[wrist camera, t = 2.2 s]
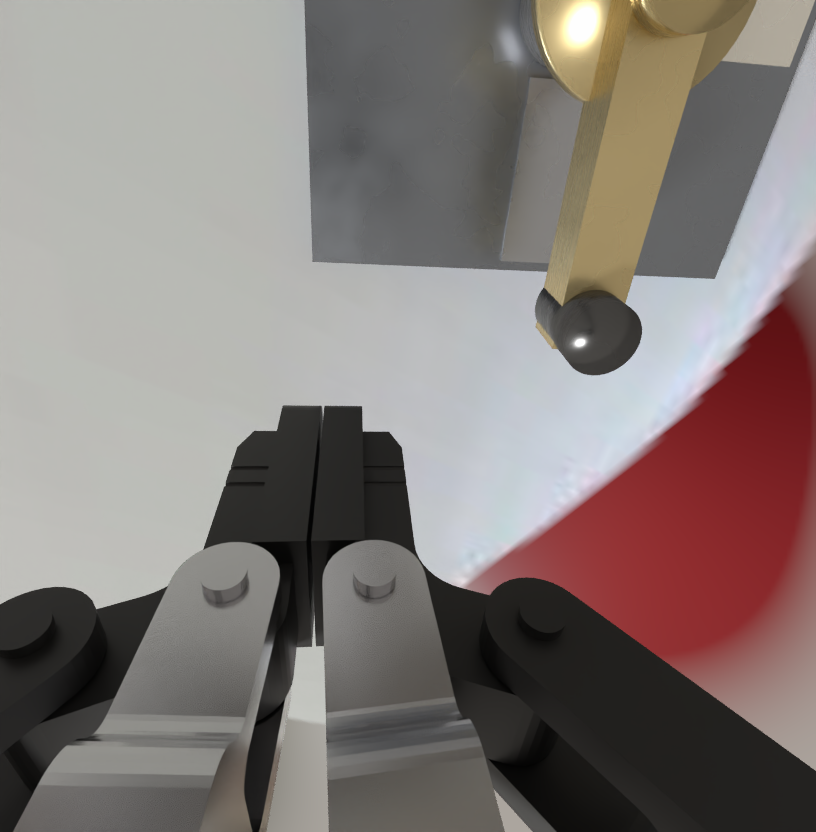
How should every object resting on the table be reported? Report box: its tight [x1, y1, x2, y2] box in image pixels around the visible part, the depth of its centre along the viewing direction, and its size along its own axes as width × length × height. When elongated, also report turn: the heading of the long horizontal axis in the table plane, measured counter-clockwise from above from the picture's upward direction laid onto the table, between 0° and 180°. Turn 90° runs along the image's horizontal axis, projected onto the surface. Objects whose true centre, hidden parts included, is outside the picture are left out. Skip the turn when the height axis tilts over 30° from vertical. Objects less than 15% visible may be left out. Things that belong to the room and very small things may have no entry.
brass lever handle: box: [531, 0, 757, 375], centre depth 17 cm, size 15×7×4 cm, turn 176°
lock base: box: [305, 0, 816, 279], centre depth 20 cm, size 22×22×7 cm
